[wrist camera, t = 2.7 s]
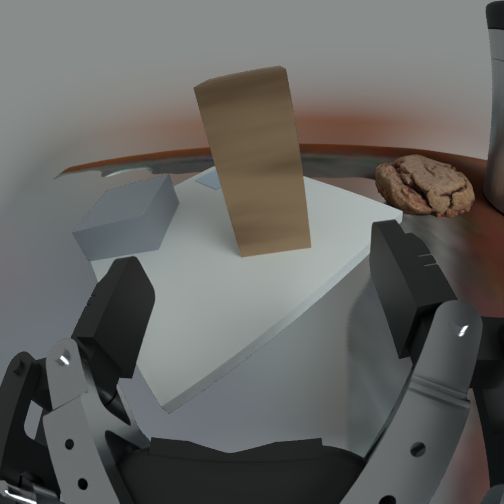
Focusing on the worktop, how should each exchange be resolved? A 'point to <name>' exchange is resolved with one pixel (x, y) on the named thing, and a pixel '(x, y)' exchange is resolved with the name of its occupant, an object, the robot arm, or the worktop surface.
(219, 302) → the base board
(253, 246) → the walnut pillar
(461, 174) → the cookie
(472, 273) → the worktop surface
